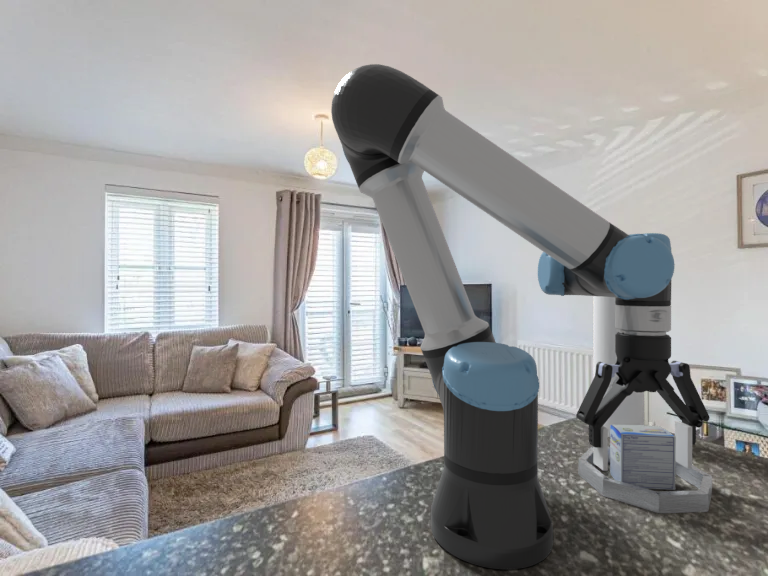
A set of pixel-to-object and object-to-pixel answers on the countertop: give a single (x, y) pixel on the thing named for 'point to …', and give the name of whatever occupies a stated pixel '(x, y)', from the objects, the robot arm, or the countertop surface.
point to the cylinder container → (613, 362)
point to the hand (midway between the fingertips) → (642, 465)
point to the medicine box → (643, 456)
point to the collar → (650, 498)
